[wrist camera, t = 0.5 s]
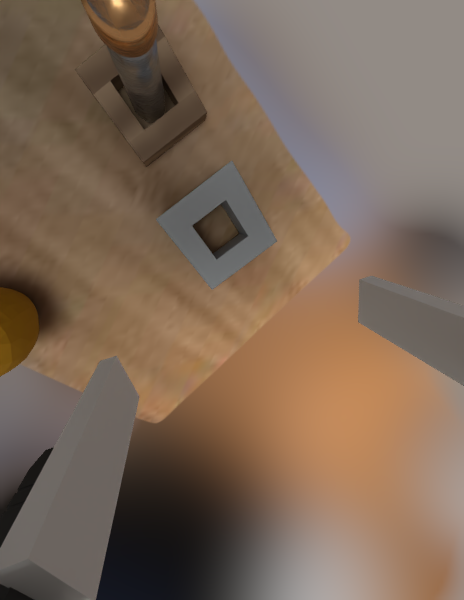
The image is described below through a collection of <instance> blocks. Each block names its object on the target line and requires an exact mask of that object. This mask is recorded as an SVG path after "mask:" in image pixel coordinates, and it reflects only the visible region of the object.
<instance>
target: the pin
mask: <svg viewBox="0 0 464 600" xmlns="http://www.w3.org/2000/svg"><path fill="white" fill-rule="evenodd" d="M81 1H82V4H83V6H84V8H85V10H86V12H87V14H88V17H89V19H90V21H91V23H92V25H93V27H94V29H95V31H96V33H97V34H98V36H99V37H100V38H101V40H102V41H103V42H104V43H105V44H106V46H107V49H108V51H109V53H110V55H111V58H112V60H113V62H114V65H115V67H116V69H117V71H118V74H119V76H120V78H121V80H122V83H123V85H124V87H125V90H126V92H127V94H128V96H129V99H130V101H131V103H132V106H133V108H134V110H135V112H136V113H137V115H138V116H139V117H140V118H141V119H143V120H144V121H147V122H150V123H154V122H155V121H157V120H158V119H159V118H161V117H162V116H163V115H164V113H165V98H164V91H163V84H162V77H161V70H160V63H159V56H158V48H157V41H156V36H157V30H158V19H157V10H156V2H155V0H81Z"/></svg>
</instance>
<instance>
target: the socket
mask: <svg viewBox="0 0 464 600" xmlns="http://www.w3.org/2000/svg"><path fill="white" fill-rule="evenodd" d="M220 204H221V205H222V207H223V208H224V210H225V211H226V213H227V214H228V216H229V218H230V219H231V221H232V222H233V224H234V225H235V227H236V229H237V230H238V232H239V233H240V234H238V235H237V236H236V237H234V238H233V239H232V240H230V241H229V242H228V243H226V244H225V245H224V246H222V247H221V248H220V249H218V250H217V251H216V252H214V253H213V254H212V253H211V251H210V250H209V249H208V247H207V246H206V244H205V243H204V242H203V240H202V239H201V238H200V236H199V235H198V234H197V232H196V231H195V229H194V228H193V227H192V225H194V224H195V223H196V222H198V221H199V220H200V219H202V218H203V217H204V216H205V215H207V214H208V213H209V212H211V211H212V210H213V209H215V208H216V207H217V206H219V205H220ZM156 220H157V222H158V223H159V224H160V225H161V227H162V228H163V229H164V230H165V232H166V233H167V234H168V235H169V237H170V238H171V239H172V240H173V242H174V243H175V244H176V245H177V247H178V248H179V249H180V250H181V252H182V253H183V254H184V255H185V257H186V258H187V259H188V260H189V262H190V263H191V264H192V265H193V267H194V268H195V269H196V270H197V272H198V273H199V274H200V275H201V277H202V278H203V279H204V280H205V282H206V283H207V284H208V285H209V287H210V288H211V289H214V288H215V287H217V286H218V285H219V284H221V283H222V282H223V281H225V280H226V279H227V278H229V277H230V276H231V275H233V274H234V273H235V272H237V271H238V270H239V269H241V268H242V267H243V266H245V265H246V264H247V263H249V262H250V261H251V260H253V259H254V258H255V257H257V256H258V255H259V254H261V253H262V252H263V251H265V250H266V249H267V248H269V247H270V246H271V245H273V244H274V243H275V242H277V240H276V238H275V236H274V234H273V233H272V231H271V229H270V227H269V226H268V224H267V222H266V220H265V218H264V217H263V215H262V213H261V211H260V210H259V208H258V206H257V204H256V202H255V201H254V199H253V197H252V195H251V194H250V192H249V190H248V188H247V186H246V185H245V183H244V181H243V179H242V178H241V176H240V174H239V172H238V170H237V169H236V167H235V165H234V163H233V161H231V162H229V163H228V164H227V165H225V166H224V167H223V168H222V169H220V170H219V171H218V172H216V173H215V174H214V175H213V176H211V177H210V178H209V179H207V180H206V181H205V182H203V183H202V184H201V185H200V186H198V187H197V188H196V189H194V190H193V191H192V192H191V193H189V194H188V195H187V196H185V197H184V198H183V199H182V200H180V201H179V202H178V203H176V204H175V205H174V206H172V207H171V208H170V209H169V210H167V211H166V212H165V213H163V214H162V215H161V216H160V217H158V218H157V219H156Z"/></svg>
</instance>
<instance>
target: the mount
mask: <svg viewBox="0 0 464 600" xmlns="http://www.w3.org/2000/svg"><path fill="white" fill-rule="evenodd" d="M156 41H157V48H158V56H159V63H160V70H161V77H162V84H163V87H164V88H165V90H166V92H167V93H168V95H169V97H170V98H171V100H172V102H173V103H174V105H175V106H174V107H173V108H172V109H171V110H169V111H168V112H167V113H166V114H164V115H163V116H162V117H161V118H159V119H158V120H157V121H155V122H154V123H153V124H152V125H150V126H149V127H148V128H147V129H145V130H144V129H143V128H142V126H141V125H140V123H139V122H138V120H137V119H136V117H135V116H134V115H133V113H132V112H131V110H130V109H129V107H128V106H127V104H126V103H125V102H124V100H123V99H122V97H121V96H120V94H119V93H118V91H119V90H121V89H122V88H123V87H124V85H123V83H122V80H121V78H120V76H119V74H118V71H117V69H116V67H115V65H114V62H113V60H112V58H111V55H110V53H109V51H108V49H107V46H106V44H105V45H104V46H102V47H101V48H100V49H99V50H98V51H96V52H95V53H94V54H93V55H91V56H90V57H89V58H88V59H87V60H85V61H84V62H83V63H82V64H81V65H79V66H78V67H77V68H76V69H75V71H76V72H77V73H78V75H79V76H80V77H81V79H82V80H83V82H84V83H85V84H86V86H87V87H88V88H89V90H90V91H91V92H92V94H93V95H94V97H95V98H96V99H97V101H98V102H99V103H100V105H101V106H102V107H103V109H104V110H105V112H106V113H107V114H108V116H109V117H110V118H111V120H112V121H113V122H114V124H115V125H116V126H117V128H118V129H119V131H120V132H121V133H122V135H123V136H124V137H125V139H126V140H127V141H128V143H129V144H130V145H131V147H132V148H133V150H134V151H135V152H136V154H137V155H138V156H139V158H140V159H141V160H142V162H143V163H144V164H145V166H148V165H149V164H150V163H152V162H153V161H154V160H155V159H157V158H158V157H159V156H160V155H162V154H163V153H164V152H165V151H167V150H168V149H169V148H171V147H172V146H173V145H174V144H176V143H177V142H178V141H179V140H181V139H182V138H183V137H185V136H186V135H187V134H188V133H190V132H191V131H192V130H193V129H195V128H196V127H197V126H198V125H200V124H201V123H202V122H204V121H205V118H206V114H207V111H206V109H205V108H204V106H203V104H202V102H201V100H200V99H199V97H198V95H197V93H196V91H195V90H194V88H193V86H192V84H191V82H190V81H189V79H188V77H187V75H186V73H185V72H184V70H183V68H182V66H181V65H180V63H179V61H178V59H177V57H176V56H175V54H174V52H173V50H172V48H171V47H170V45H169V43H168V41H167V39H166V38H165V36H164V34H163V32H162V30H161V29H160V27H159V25H158V30H157V36H156Z"/></svg>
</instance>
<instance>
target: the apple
mask: <svg viewBox="0 0 464 600" xmlns="http://www.w3.org/2000/svg"><path fill="white" fill-rule="evenodd" d="M38 334H39V320H38V313H37V310H36V308H35V306H34V304H33V303H32V302H31V300H30V299H29V298H28V297H27V296H25V295H24V294H22V293H20V292H18V291H15V290H13V289H8V288H3V287H0V376H2V375H4V374H5V373H7V372H9V371H11V370H12V369H13V368H15V367H16V366H18V365H19V364H20V363H21V362H22V361H23V360H25V359H26V358H27V356H28V355H29V353H30V352H31V350H32V349H33V347H34V345H35V343H36V341H37V338H38Z"/></svg>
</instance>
